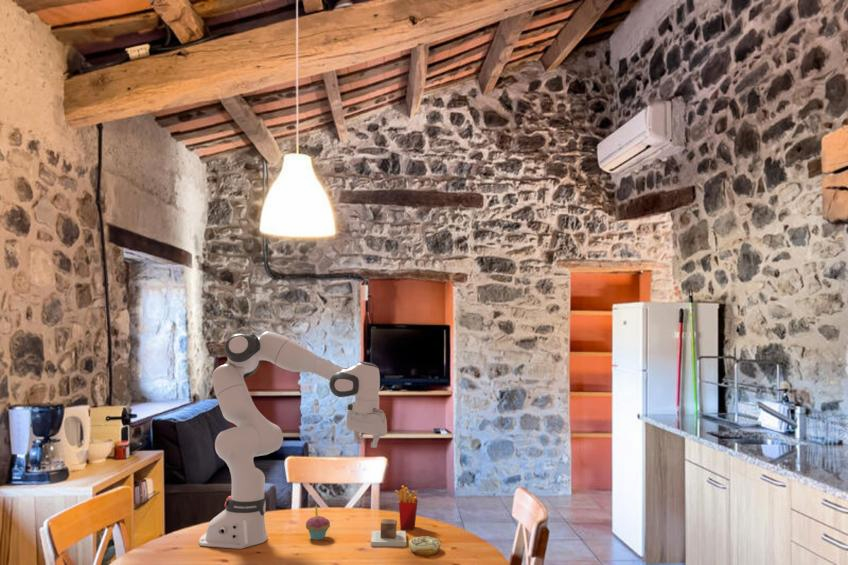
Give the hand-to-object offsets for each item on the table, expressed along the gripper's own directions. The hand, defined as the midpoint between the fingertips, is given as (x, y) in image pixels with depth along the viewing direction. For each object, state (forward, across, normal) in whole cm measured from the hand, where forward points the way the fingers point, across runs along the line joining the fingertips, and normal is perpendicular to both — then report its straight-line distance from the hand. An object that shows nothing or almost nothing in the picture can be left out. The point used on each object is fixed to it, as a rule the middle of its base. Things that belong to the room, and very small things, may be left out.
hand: (366, 445), depth 238 cm
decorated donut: (+32, -27, -5) cm, 42 cm away
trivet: (+31, -12, -2) cm, 33 cm away
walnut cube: (+30, -12, -2) cm, 32 cm away
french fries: (+31, -5, -15) cm, 35 cm away
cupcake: (+31, +6, +16) cm, 36 cm away
